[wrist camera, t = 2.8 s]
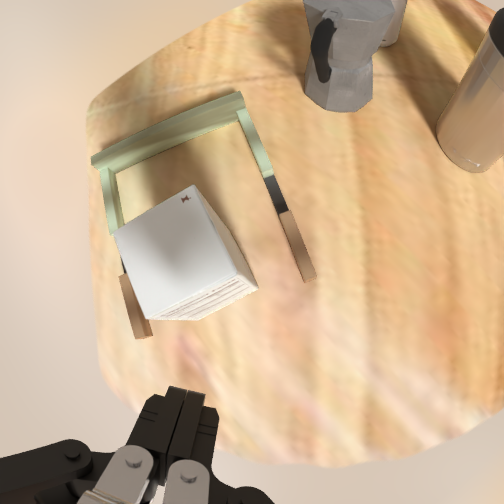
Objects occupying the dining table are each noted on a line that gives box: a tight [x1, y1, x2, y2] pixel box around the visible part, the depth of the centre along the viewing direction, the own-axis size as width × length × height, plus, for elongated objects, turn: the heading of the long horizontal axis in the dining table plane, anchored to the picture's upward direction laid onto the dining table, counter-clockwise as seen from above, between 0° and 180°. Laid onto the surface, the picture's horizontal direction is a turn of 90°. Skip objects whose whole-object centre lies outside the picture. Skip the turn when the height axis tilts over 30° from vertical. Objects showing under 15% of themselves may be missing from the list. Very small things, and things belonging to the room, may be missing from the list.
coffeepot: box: [303, 0, 395, 112], centre depth 28 cm, size 15×9×18 cm, turn 153°
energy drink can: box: [380, 0, 407, 47], centre depth 31 cm, size 6×6×15 cm
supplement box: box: [113, 184, 258, 320], centre depth 28 cm, size 7×7×13 cm
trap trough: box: [91, 91, 317, 339], centre depth 33 cm, size 22×19×4 cm
